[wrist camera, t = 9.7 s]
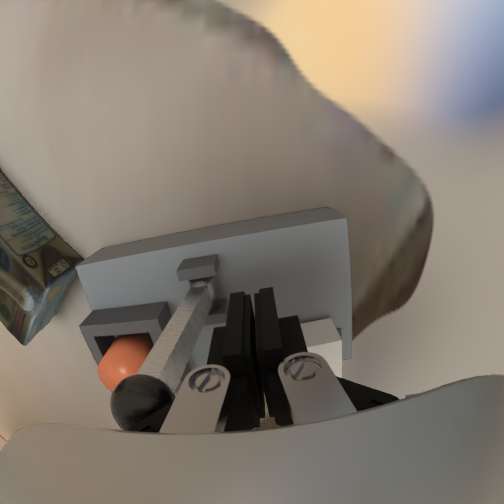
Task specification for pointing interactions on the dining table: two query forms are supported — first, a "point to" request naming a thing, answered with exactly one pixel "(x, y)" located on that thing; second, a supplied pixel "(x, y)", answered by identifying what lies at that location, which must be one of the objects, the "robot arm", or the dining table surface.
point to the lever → (165, 358)
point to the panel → (221, 277)
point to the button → (124, 358)
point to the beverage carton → (30, 266)
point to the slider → (324, 342)
